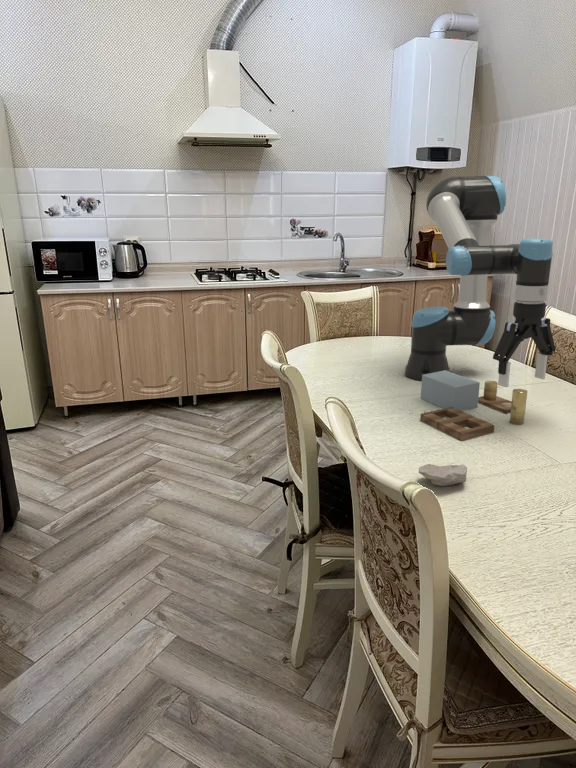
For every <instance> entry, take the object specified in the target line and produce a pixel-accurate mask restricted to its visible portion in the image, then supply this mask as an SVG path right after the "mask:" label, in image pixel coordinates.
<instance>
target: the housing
mask: <svg viewBox="0 0 576 768" xmlns="http://www.w3.org/2000/svg"><path fill="white" fill-rule="evenodd" d="M480 384H481V383H480V381H477V380H474V379H472V378H468V377H465V376H463V375H460V374H457V373H454V372H451V371H450V372H449V371H446V370H445V371H440V372H434V373H429V374H424V375H422V381H421V387H420V388H421V391H420V399H421V400H424V401H426V402H427V403H430V404H432V405H435V406H437V407H438V408H440V409H443V408H448V407H453V408H455V409H458V410H460V411H463V412H464V411H467V410H471V409H474V408H475V409H476V408H478V407H479V403H478V397H480V396H479V394H480V386H481V385H480Z"/></svg>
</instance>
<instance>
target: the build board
mask: <svg viewBox="0 0 576 768" xmlns="http://www.w3.org/2000/svg"><path fill="white" fill-rule="evenodd" d="M445 418H446V419H445ZM419 420H421V421H420V422H422V421H423V422H422V423H424V422H425V423H424V424H426V423H427V425H428V424H429V426H430V425H431V427H432V426H433V428H434V427H435V429H437V430H439V431H441V432H442V433H445V434H447V435H449V436H451V437H453V438H455V439H457V440H459V441H461V442H463V441H466V440H470V439H474V438H478V437H482V436H485V435H489V434H492V433H493V434H494V433H495V424H493V423H490V422H488V421H485V420H484V419H481V418H478V417H476V416H475V415H472V414H470V413H467V412H464V410H463V411H460V410H458V409H455V408H453V407H448V408H440V409H436V410H430V411H427V412H422V413H420V419H419ZM465 427H468V429H467V428H465Z"/></svg>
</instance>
